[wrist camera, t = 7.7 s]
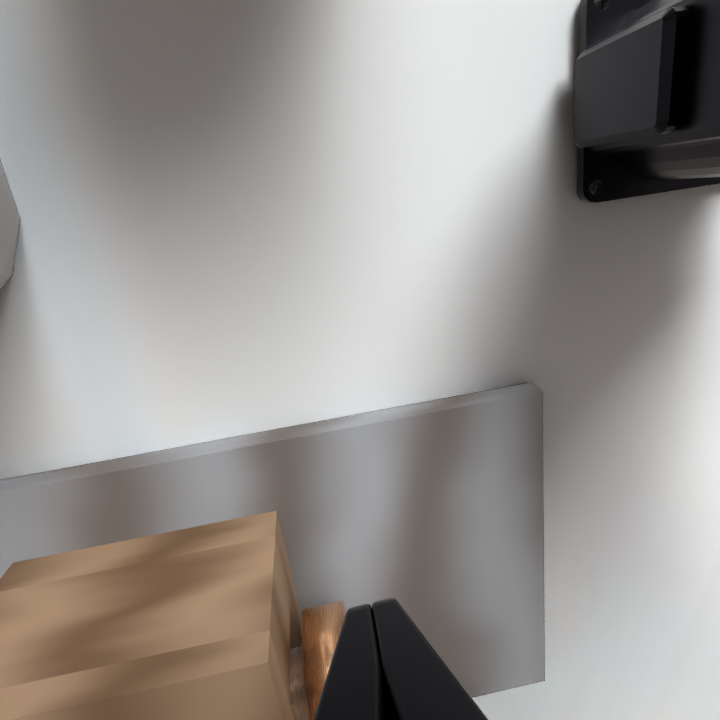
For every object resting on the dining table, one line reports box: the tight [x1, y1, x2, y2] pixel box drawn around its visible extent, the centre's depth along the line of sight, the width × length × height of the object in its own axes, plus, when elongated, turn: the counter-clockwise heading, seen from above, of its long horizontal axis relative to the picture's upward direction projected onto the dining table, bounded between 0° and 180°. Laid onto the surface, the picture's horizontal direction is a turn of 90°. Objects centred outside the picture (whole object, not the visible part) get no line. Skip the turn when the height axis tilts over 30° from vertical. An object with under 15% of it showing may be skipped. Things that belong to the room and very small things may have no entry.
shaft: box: [290, 600, 346, 720], centre depth 17 cm, size 14×5×5 cm, turn 98°
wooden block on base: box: [0, 382, 545, 720], centre depth 18 cm, size 23×16×8 cm
